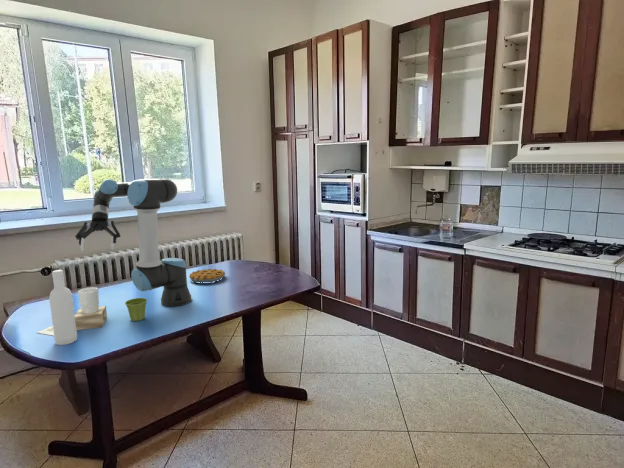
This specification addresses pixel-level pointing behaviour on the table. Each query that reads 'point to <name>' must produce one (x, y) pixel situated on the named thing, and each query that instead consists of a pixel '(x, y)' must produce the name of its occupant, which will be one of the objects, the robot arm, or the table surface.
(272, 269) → the table surface
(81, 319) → the beech block
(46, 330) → the page
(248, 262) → the table surface
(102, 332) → the table surface
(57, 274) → the bottle
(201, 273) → the pie
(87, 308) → the white cup
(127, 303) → the plant pot
